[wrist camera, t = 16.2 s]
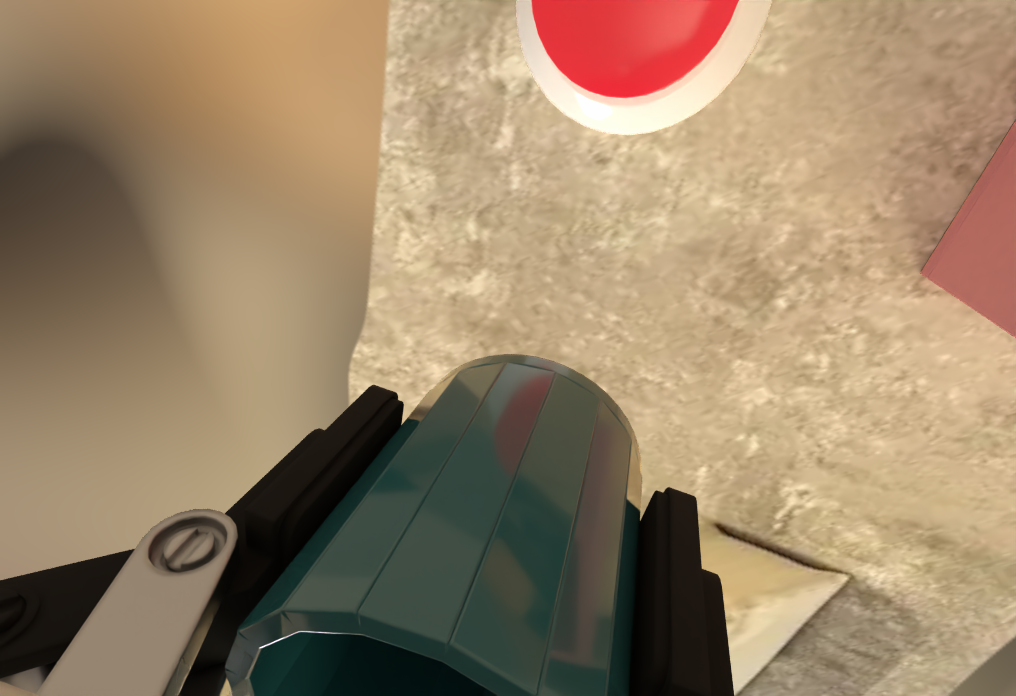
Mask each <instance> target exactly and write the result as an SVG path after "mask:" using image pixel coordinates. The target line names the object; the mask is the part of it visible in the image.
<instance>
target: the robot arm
mask: <svg viewBox="0 0 1016 696" xmlns="http://www.w3.org/2000/svg"><path fill="white" fill-rule="evenodd" d="M403 408H404V404H403V402H402V401H399V400H398V395H397V393H396V392H393V391H390V390H387V389H384V388H381V387H379V386H376V385H372V386H370V387H369V388H368V389H367V390H366V391H365V392H364V393H363V394H362V395H361V396H360V397H359V398H358V399H357V400H356V401H355V402H353V403H352V404H351V405H350V406H349V407H348V408H347V409H346V410H345V411H344V412H343V413H342V414H341V415H340V416H339V417H338V418H337V419H336V420H335V421H334V422H333V423H332V424H331V425H330V426H329V427H328V428H327V429H326V430H322V429H316V430H314V431H312V432H311V433H310V434H308V435H307V436H306V437H305V438H304V439H303V440H302V441H301V442H300V443H299V444H298V445H297V446H296V447H295V448H294V449H293V450H291V452H289V453H288V454H287V455H286V456H285V457H284V458H283V459H282V460H281V461H280V462H279V463H278V464H277V465H276V466H275V467H274V468H273V469H272V470H270V471H269V472H268V473H267V474H266V475H265V476H264V477H263V478H262V479H261V480H260V481H259V482H258V483H257V484H256V485H255V486H253V487H252V488H251V489H250V490H249V491H248V492H247V493H246V494H245V495H244V496H243V497H242V498H241V499H240V500H239V501H238V502H237V503H235V504H234V505H233V506H232V507H231V508H230V509H229V510H228V511H227V512H226V513H225V514H224V513H222V512H219V511H215V510H211V509H193V510H189V511H185V512H180V513H177V514H175V515H173V516H171V517H168V518H166V519H164V520H163V521H161V522H160V523H158V524H157V525H156V526H154V527H152V528H151V529H150V531H149V532H148V533H147V534H146V535H145V536H144V537H143V538H142V540H141V541H140V542H139V544H138V545H137V547H136V548H135V549H132V550H128V551H123V552H119V553H115V554H111V555H107V556H102V557H98V558H94V559H90V560H85V561H81V562H77V563H72V564H68V565H64V566H59V567H55V568H51V569H47V570H42V571H38V572H34V573H30V574H26V575H21V576H17V577H13V578H8V579H5V580H0V696H228V695H229V692H230V690H231V689H230V686H229V682H228V679H227V676H226V672H225V666H224V665H225V662H226V659H227V656H228V654H229V651H230V648H231V646H232V643H233V640H234V637H235V635H236V632H237V629H238V628H239V627H240V625H241V624H242V623H243V622H244V620H245V619H246V618H247V617H248V615H249V614H250V613H251V612H252V610H253V609H254V608H255V607H256V605H257V604H258V603H259V602H260V600H261V599H262V598H263V597H264V596H265V594H266V593H267V592H268V591H269V589H270V588H271V587H272V586H273V584H274V583H275V582H276V581H277V579H278V578H279V577H280V576H281V574H282V573H283V572H284V571H285V569H286V568H287V567H288V566H289V564H290V563H291V562H292V561H293V559H294V558H295V557H296V556H297V555H298V553H299V552H300V551H301V550H302V548H303V547H304V546H305V545H306V543H307V542H308V541H309V540H310V538H311V537H312V536H313V535H314V533H315V532H316V531H317V530H318V528H319V527H320V526H321V525H322V523H323V522H324V521H325V520H326V519H327V517H328V516H329V515H330V514H331V512H332V511H333V510H334V509H335V507H336V506H337V505H338V504H339V502H340V501H341V500H342V499H343V497H344V496H345V495H346V494H347V492H348V491H349V490H350V489H351V487H352V486H353V485H354V484H355V482H356V481H357V480H358V479H359V478H360V476H361V475H362V474H363V473H364V471H365V470H366V469H367V468H368V466H369V465H370V464H371V463H372V461H373V460H374V459H375V458H376V456H377V455H378V454H379V453H380V451H381V450H382V449H383V448H384V446H385V445H386V444H387V443H388V441H389V440H390V439H391V438H392V437H393V435H394V434H395V433H396V432H397V430H398V429H399V428H400V427H401V423H402V416H403ZM629 696H734V690H733V681H732V672H731V663H730V655H729V646H728V637H727V628H726V619H725V610H724V601H723V593H722V585H721V580H720V578H719V576H718V575H717V574H715V573H712V572H709V571H706V570H704V569H702V566H701V553H700V539H699V526H698V512H697V501H696V497H695V496H692V495H690V494H687V493H684V492H681V491H678V490H675V489H672V488H669V487H668V488H666V490H665V491H664V493H662V492H660V491H655V492H654V494H653V496H652V498H651V500H650V502H649V504H648V506H647V508H646V510H645V512H644V515H643V517H642V519H641V521H640V525H639V541H638V557H637V573H636V589H635V606H634V622H633V638H632V654H631V670H630V686H629Z"/></svg>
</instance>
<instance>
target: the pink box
mask: <svg viewBox="0 0 1016 696" xmlns="http://www.w3.org/2000/svg"><path fill="white" fill-rule="evenodd" d="M920 274H922V275H923V276H925V277H926V278H928V279H929V280H931V281H932V282H934V283H935V284H937V285H938V286H940V287H941V288H943V289H944V290H945V291H947V292H948V293H950V294H951V295H953V296H954V297H956V298H957V299H959V300H960V301H962V302H963V303H965V304H966V305H968V306H969V307H971V308H972V309H974V310H975V311H977V312H978V313H979V314H981V315H982V316H984V317H985V318H987V319H988V320H990V321H991V322H993V323H994V324H996V325H997V326H999V327H1000V328H1002V329H1003V330H1005V331H1006V332H1008V333H1009V334H1011V335H1012V336H1013V337H1015V338H1016V121H1015V122H1014V124H1013V125H1012V127H1011V129H1010V130H1009V132H1008V133H1007V135H1006V137H1005V138H1004V140H1003V141H1002V143H1001V145H1000V146H999V148H998V149H997V151H996V153H995V154H994V156H993V157H992V159H991V161H990V162H989V164H988V165H987V167H986V169H985V170H984V172H983V173H982V175H981V177H980V178H979V180H978V181H977V183H976V185H975V186H974V188H973V189H972V191H971V193H970V194H969V196H968V197H967V199H966V201H965V202H964V204H963V205H962V207H961V209H960V210H959V212H958V213H957V215H956V217H955V218H954V220H953V221H952V223H951V225H950V226H949V228H948V229H947V231H946V233H945V234H944V236H943V237H942V239H941V241H940V242H939V244H938V245H937V247H936V249H935V250H934V252H933V253H932V255H931V257H930V258H929V260H928V261H927V263H926V265H925V266H924V268H923V269H922V271H921V273H920Z"/></svg>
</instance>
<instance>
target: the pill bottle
mask: <svg viewBox="0 0 1016 696" xmlns="http://www.w3.org/2000/svg"><path fill="white" fill-rule="evenodd" d="M771 3H772V0H516V19H517V29H518V37H519V40H520V44H521V48H522V51H523V55H524V59H525V61H526V64H527V66H528V68H529V70H530V72H531V74H532V76H533V78H534V80H535V82H536V84H537V85H538V86H539V88H540V89H541V90H542V92H543V93H544V95H545V96H546V97H547V99H548V100H549V101H550V102H551V103H552V104H553V105H554V106H555V107H557V108H558V109H559V110H560V111H561V112H562V113H563V114H564V115H565V116H567V117H569V118H571V119H572V120H574V121H576V122H578V123H579V124H581V125H583V126H585V127H587V128H591V129H594V130H597V131H600V132H603V133H609V134H620V135H634V134H643V133H651V132H654V131H657V130H660V129H663V128H667V127H670V126H673V125H675V124H677V123H679V122H681V121H683V120H684V119H686V118H688V117H690V116H692V115H694V114H695V113H697V112H699V111H700V110H701V109H702V108H704V107H705V106H706V105H707V104H709V103H710V102H711V101H712V100H714V99H715V98H716V97H717V96H719V95H720V94H721V92H722V91H723V90H724V89H725V88H726V87H727V86H728V85H729V83H730V82H731V81H732V80H733V79H734V78H735V77H736V76H737V75H738V73H739V72H740V70H741V69H742V67H743V66H744V64H745V63H746V61H747V59H748V58H749V56H750V55H751V53H752V52H753V50H754V48H755V46H756V44H757V42H758V40H759V37H760V35H761V33H762V30H763V28H764V26H765V23H766V21H767V19H768V15H769V11H770V7H771Z"/></svg>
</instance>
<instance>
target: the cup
mask: <svg viewBox="0 0 1016 696" xmlns="http://www.w3.org/2000/svg"><path fill="white" fill-rule="evenodd" d="M641 492H642V475H641V457H640V451H639V445H638V442H637V439H636V436H635V433H634V431H633V429H632V427H631V425H630V423H629V421H628V419H627V418H626V416H625V415H624V413H623V412H622V410H621V409H620V407H619V406H618V405H617V404H616V403H615V402H614V400H613V399H612V398H611V397H610V396H609V395H608V394H607V393H606V392H605V391H604V390H602V389H601V388H600V387H599V386H598V385H597V384H596V383H594V382H593V381H591V380H590V379H588V378H587V377H585V376H584V375H582V374H580V373H578V372H577V371H575V370H573V369H571V368H569V367H567V366H564V365H562V364H559V363H556V362H554V361H551V360H547V359H543V358H539V357H535V356H528V355H518V354H503V355H494V356H488V357H483V358H479V359H475V360H473V361H470V362H468V363H465V364H463V365H461V366H459V367H458V368H456V369H454V370H453V371H451V372H450V373H449V374H447V375H446V376H445V377H444V378H443V379H442V380H441V381H440V382H439V383H438V384H437V385H436V386H435V387H434V388H433V389H432V390H430V391H429V392H428V393H427V394H426V396H425V397H424V398H423V399H422V400H421V402H420V403H419V404H418V405H417V407H416V408H415V409H414V410H413V412H412V413H411V414H410V415H409V417H408V418H407V419H406V420H405V422H404V423H403V424H402V425H401V427H400V428H399V429H398V430H397V432H396V433H395V434H394V435H393V437H392V438H391V439H390V440H389V441H388V443H387V444H386V445H385V446H384V448H383V449H382V450H381V451H380V453H379V454H378V455H377V456H376V458H375V459H374V460H373V461H372V463H371V464H370V465H369V466H368V468H367V469H366V470H365V471H364V473H363V474H362V475H361V476H360V478H359V479H358V480H357V481H356V482H355V484H354V485H353V486H352V487H351V489H350V490H349V491H348V492H347V494H346V495H345V496H344V497H343V499H342V500H341V501H340V502H339V504H338V505H337V506H336V507H335V509H334V510H333V511H332V512H331V514H330V515H329V516H328V517H327V519H326V520H325V521H324V522H323V523H322V525H321V526H320V527H319V528H318V530H317V531H316V532H315V533H314V535H313V536H312V537H311V538H310V540H309V541H308V542H307V543H306V545H305V546H304V547H303V548H302V550H301V551H300V552H299V553H298V555H297V556H296V557H295V558H294V559H293V561H292V562H291V563H290V564H289V566H288V567H287V568H286V569H285V571H284V572H283V573H282V574H281V576H280V577H279V578H278V579H277V581H276V582H275V583H274V584H273V586H272V587H271V588H270V589H269V591H268V592H267V593H266V594H265V596H264V597H263V598H262V599H261V600H260V602H259V603H258V604H257V605H256V607H255V608H254V609H253V610H252V612H251V613H250V614H249V615H248V617H247V618H246V619H245V620H244V622H243V623H242V624H241V625H240V627H239V628H238V629H237V632H236V635H235V637H234V640H233V643H232V646H231V648H230V651H229V654H228V656H227V659H226V662H225V665H224V666H225V672H226V676H227V679H228V682H229V686H230V689H231V692H232V695H233V696H629V686H630V670H631V654H632V638H633V622H634V606H635V589H636V573H637V557H638V541H639V525H640V508H641Z"/></svg>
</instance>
